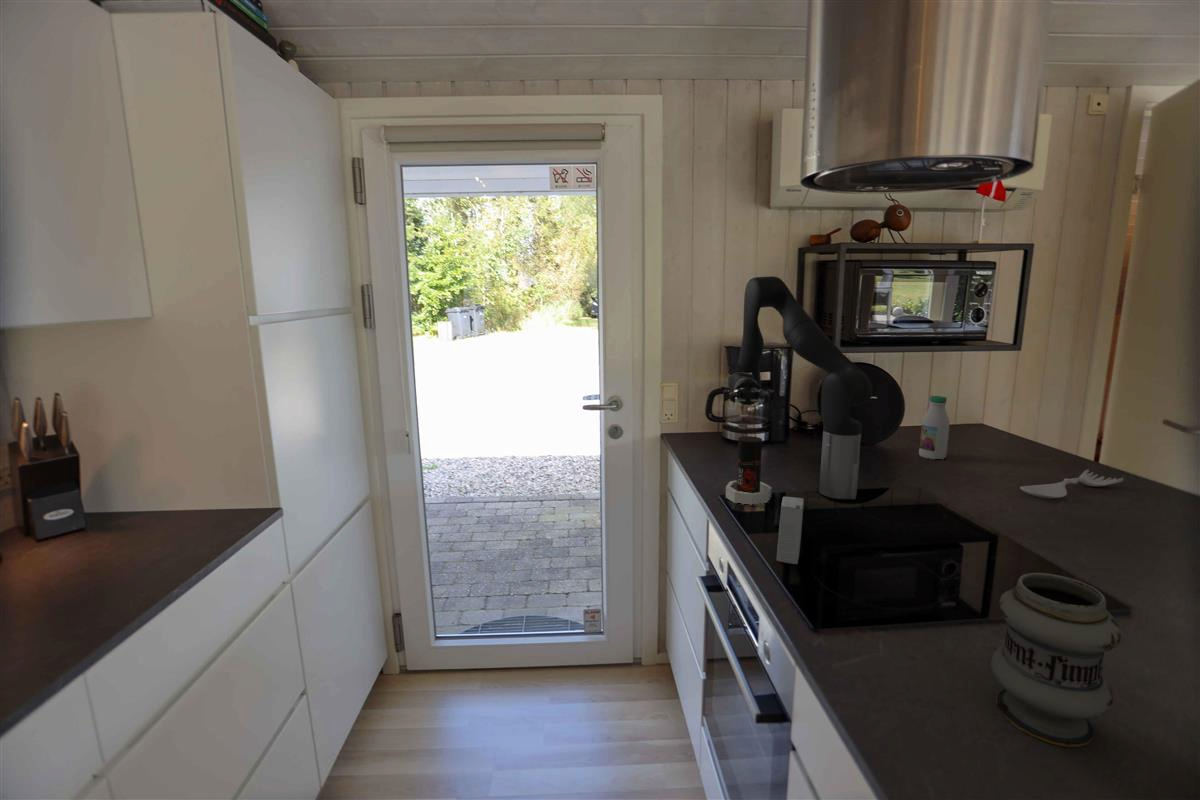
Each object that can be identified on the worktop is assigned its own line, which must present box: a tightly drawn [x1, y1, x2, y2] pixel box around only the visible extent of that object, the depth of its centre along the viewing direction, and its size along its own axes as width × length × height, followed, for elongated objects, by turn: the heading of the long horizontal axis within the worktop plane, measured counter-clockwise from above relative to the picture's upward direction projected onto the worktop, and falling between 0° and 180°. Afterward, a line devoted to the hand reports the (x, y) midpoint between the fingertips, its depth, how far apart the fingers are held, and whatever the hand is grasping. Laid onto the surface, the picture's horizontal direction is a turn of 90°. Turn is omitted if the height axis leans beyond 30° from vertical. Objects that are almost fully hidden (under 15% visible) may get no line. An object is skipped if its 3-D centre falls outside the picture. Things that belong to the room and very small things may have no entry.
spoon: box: [1019, 469, 1124, 499], centre depth 153 cm, size 9×32×4 cm, turn 111°
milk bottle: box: [918, 395, 950, 460], centre depth 183 cm, size 8×8×20 cm
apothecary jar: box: [990, 572, 1122, 748], centre depth 71 cm, size 12×12×18 cm
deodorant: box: [736, 435, 763, 493], centre depth 149 cm, size 6×6×15 cm
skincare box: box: [775, 496, 805, 565], centre depth 115 cm, size 6×4×12 cm
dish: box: [725, 480, 772, 506], centre depth 150 cm, size 11×11×3 cm
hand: (749, 398), depth 156 cm, fingers open, 8 cm apart
